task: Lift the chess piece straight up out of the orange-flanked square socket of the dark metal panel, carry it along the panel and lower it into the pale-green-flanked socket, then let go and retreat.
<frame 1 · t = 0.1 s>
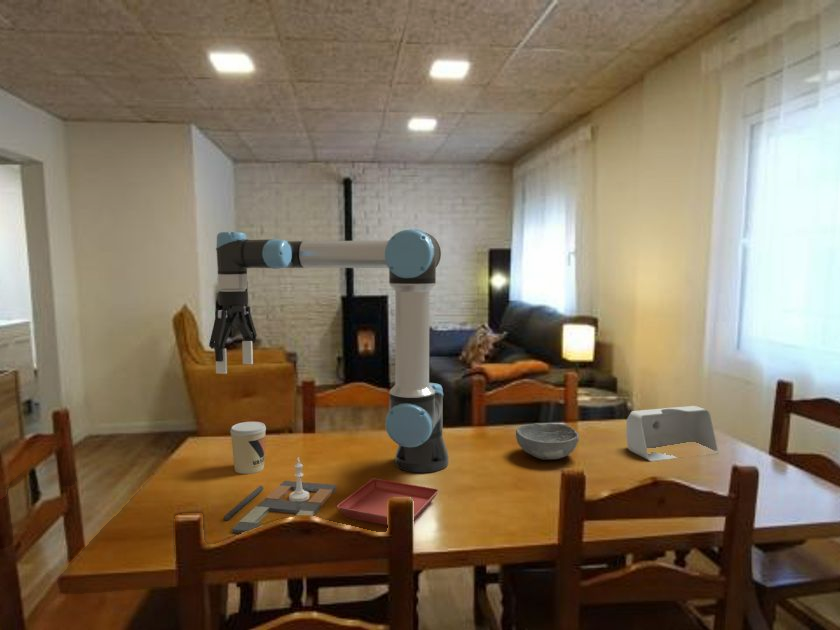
hand: (235, 368, 148), 28 cm above the table, fingers open, 13 cm apart
grey plastic housing: (665, 449, 167), on the table
panel: (288, 508, 126), on the table
coffee cup: (249, 469, 151), on the table
plant saucer: (389, 511, 126), on the table
chess piece: (299, 498, 132), resting in panel
bowl: (546, 457, 160), on the table
rod: (245, 504, 128), on the table
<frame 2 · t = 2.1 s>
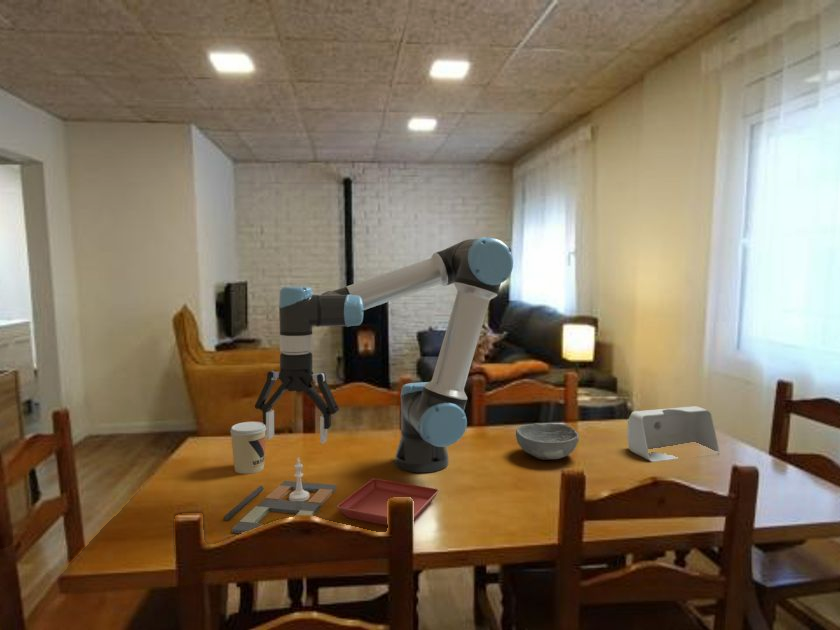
hand: (296, 439, 131), 14 cm above the table, fingers open, 13 cm apart
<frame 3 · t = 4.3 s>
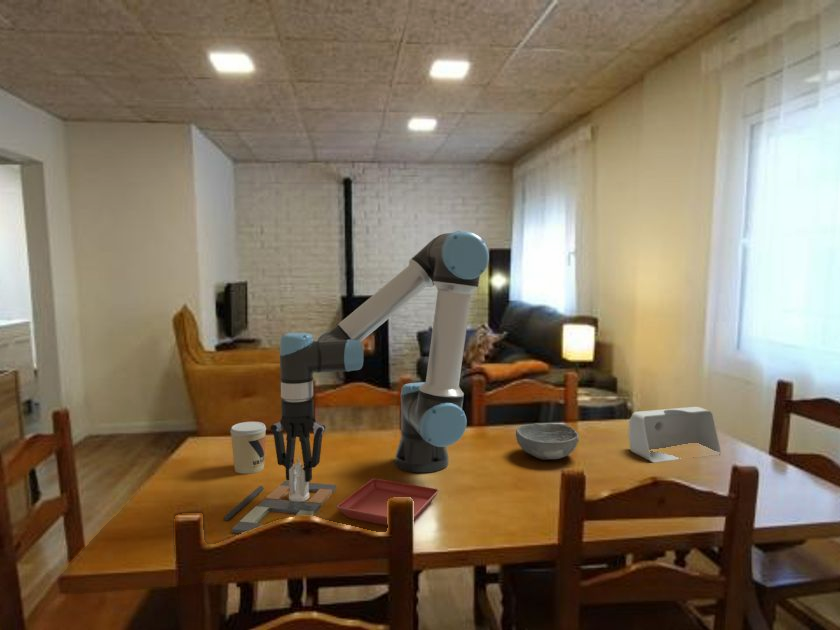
hand: (299, 493, 132), 1 cm above the table, fingers closed on chess piece, 2 cm apart
chess piece: (299, 498, 132), resting in panel, touching gripper
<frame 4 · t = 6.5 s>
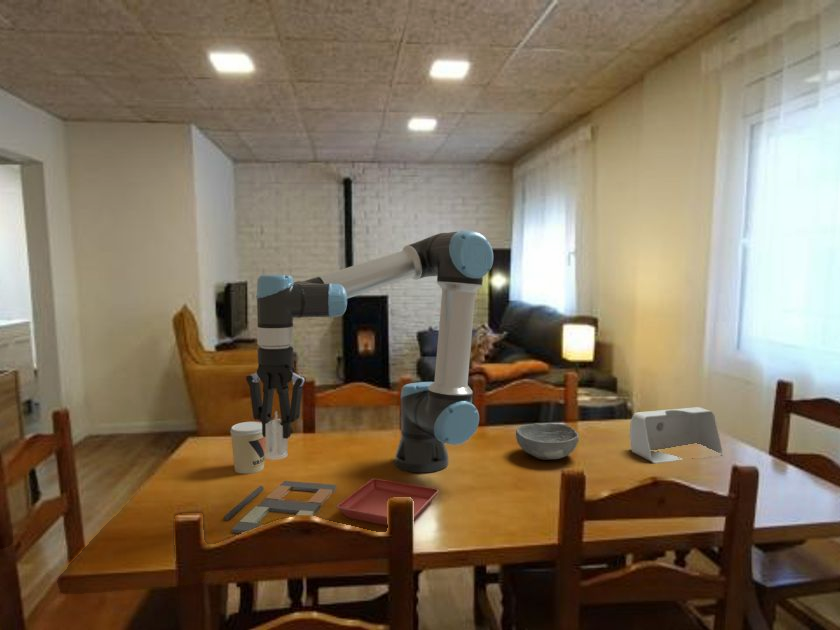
hand: (276, 451, 120), 15 cm above the table, fingers closed on chess piece, 2 cm apart
chess piece: (276, 456, 121), point 14 cm above the table, touching gripper
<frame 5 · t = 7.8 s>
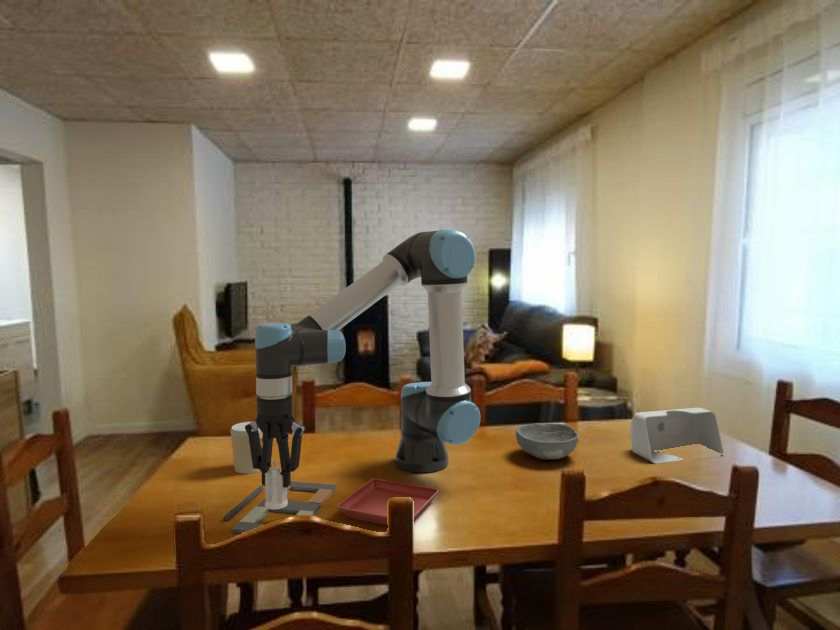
hand: (276, 500, 120), 5 cm above the table, fingers closed on chess piece, 2 cm apart
chess piece: (276, 505, 120), point 3 cm above the table, touching gripper
when the fingers open (2 cm above the table, at t = 8.9 s): chess piece stays where it is, resting in panel.
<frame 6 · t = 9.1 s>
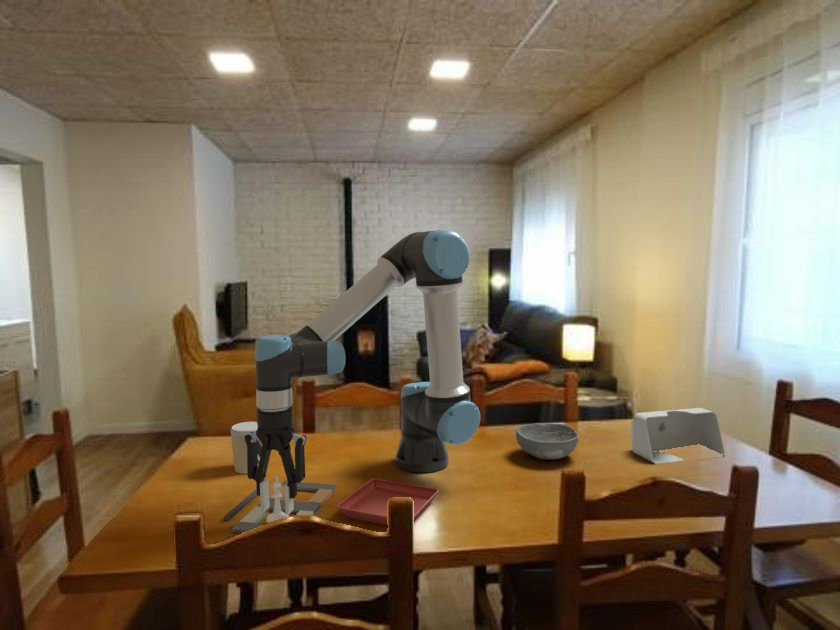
hand: (277, 510, 120), 2 cm above the table, fingers open, 5 cm apart
chess piece: (277, 521, 120), resting in panel
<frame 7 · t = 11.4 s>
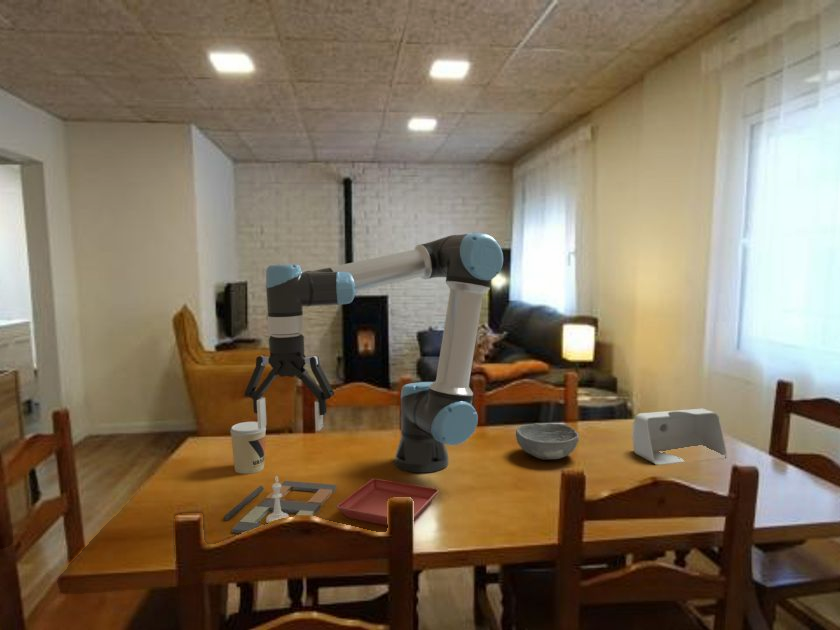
hand: (290, 428, 123), 19 cm above the table, fingers open, 13 cm apart
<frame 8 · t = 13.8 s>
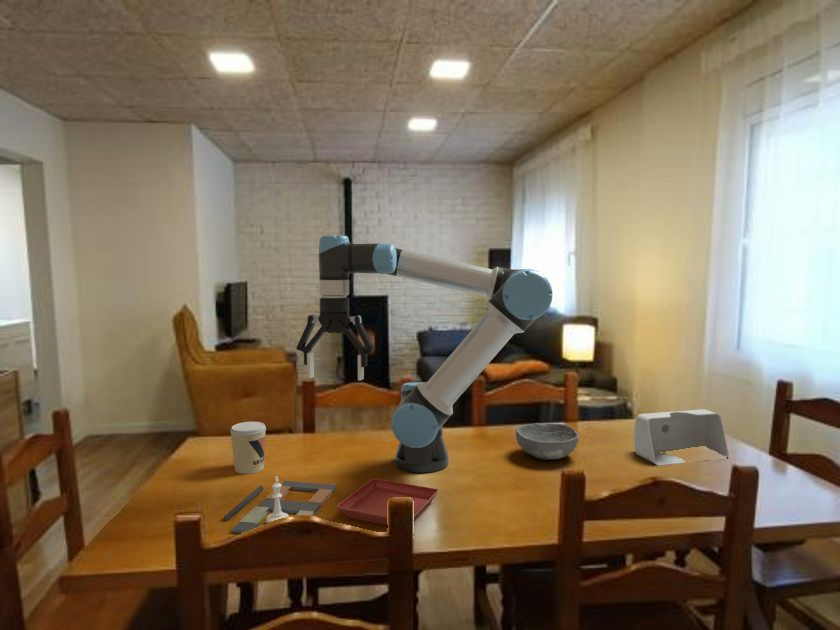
hand: (335, 378, 141), 27 cm above the table, fingers open, 13 cm apart
at the end: chess piece 0.1 cm from the target spot on the panel, point 0.0 cm above the panel's base; chess piece tilted 0°; the gripper is holding nothing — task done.
